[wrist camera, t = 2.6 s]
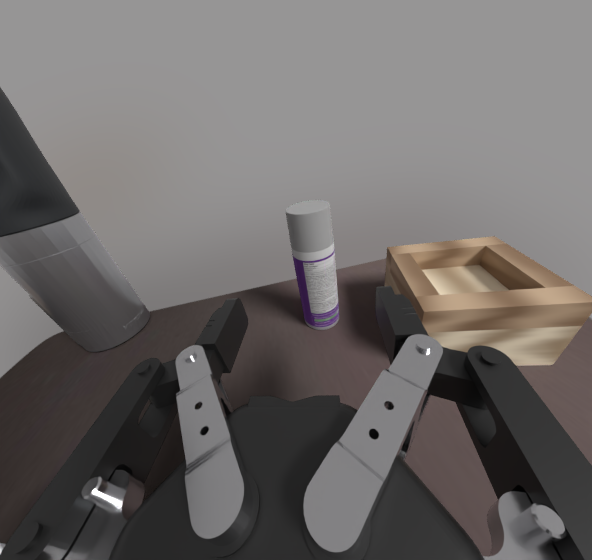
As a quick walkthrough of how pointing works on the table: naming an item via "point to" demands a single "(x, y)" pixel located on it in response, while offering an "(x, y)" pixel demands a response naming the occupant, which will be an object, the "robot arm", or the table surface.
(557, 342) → the wooden open tray
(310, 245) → the container
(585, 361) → the table surface
